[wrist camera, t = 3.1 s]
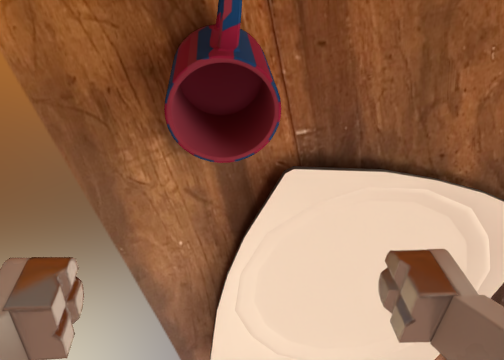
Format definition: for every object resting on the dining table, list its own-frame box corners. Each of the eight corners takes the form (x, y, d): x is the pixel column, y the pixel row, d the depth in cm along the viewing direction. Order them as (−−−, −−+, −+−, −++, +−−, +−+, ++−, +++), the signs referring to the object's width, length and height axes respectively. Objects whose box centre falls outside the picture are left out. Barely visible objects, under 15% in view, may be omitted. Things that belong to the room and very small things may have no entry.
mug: (167, 107, 30) (158, 154, 25) (187, -43, 25) (181, -26, 19) (254, 122, 32) (265, 170, 26) (291, -17, 26) (314, 6, 21)
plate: (271, 132, 32) (276, 150, 30) (555, 196, 39) (576, 214, 37) (195, 347, 47) (194, 369, 45) (410, 367, 54) (418, 387, 52)
